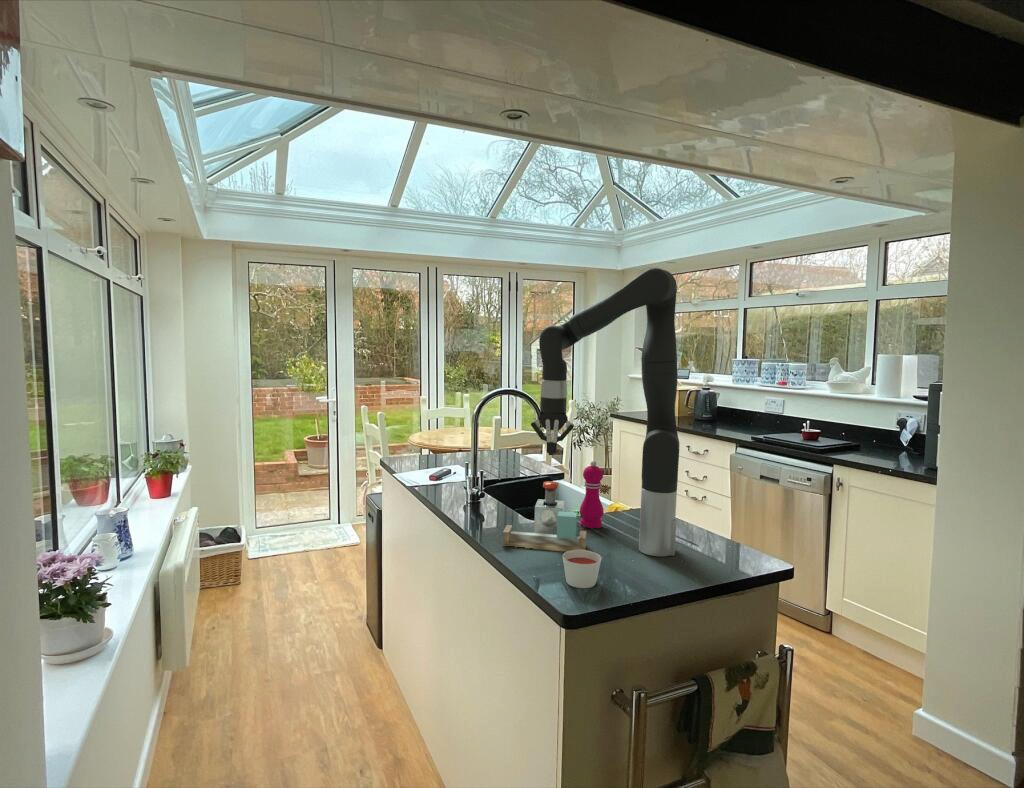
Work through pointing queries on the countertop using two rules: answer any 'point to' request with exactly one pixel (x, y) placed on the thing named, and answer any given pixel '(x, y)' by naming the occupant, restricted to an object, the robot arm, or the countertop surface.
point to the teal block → (566, 525)
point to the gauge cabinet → (547, 517)
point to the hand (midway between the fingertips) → (551, 454)
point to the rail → (542, 546)
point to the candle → (581, 568)
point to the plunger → (550, 492)
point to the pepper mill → (592, 497)
